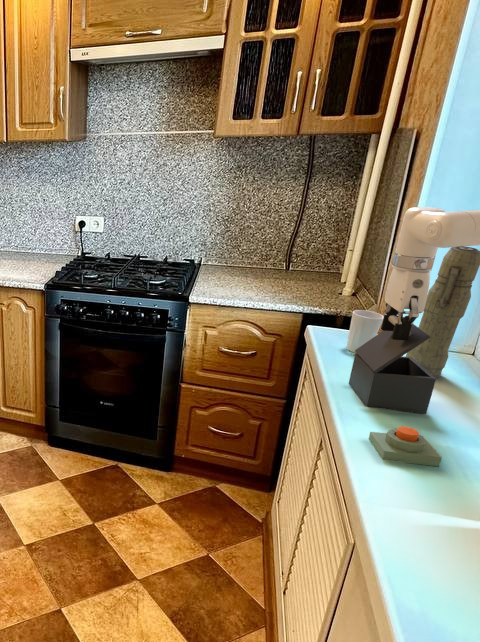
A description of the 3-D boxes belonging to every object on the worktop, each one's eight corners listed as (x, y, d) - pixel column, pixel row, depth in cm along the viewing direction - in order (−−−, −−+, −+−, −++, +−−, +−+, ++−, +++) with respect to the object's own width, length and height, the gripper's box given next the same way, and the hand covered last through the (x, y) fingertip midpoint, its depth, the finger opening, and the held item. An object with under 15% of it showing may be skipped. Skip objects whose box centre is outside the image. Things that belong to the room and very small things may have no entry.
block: (421, 445, 113) (425, 429, 112) (439, 466, 106) (444, 449, 105) (368, 440, 116) (372, 424, 114) (382, 460, 109) (386, 443, 107)
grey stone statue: (443, 368, 150) (489, 247, 136) (439, 382, 141) (488, 254, 128) (405, 359, 155) (446, 241, 142) (399, 372, 147) (442, 248, 133)
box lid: (405, 318, 132) (391, 305, 132) (430, 337, 120) (415, 322, 120) (356, 352, 138) (343, 339, 138) (376, 373, 126) (361, 359, 126)
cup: (378, 356, 159) (390, 319, 155) (352, 355, 159) (363, 318, 155) (362, 345, 167) (373, 310, 162) (336, 345, 167) (347, 309, 162)
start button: (412, 434, 111) (414, 427, 110) (420, 443, 107) (422, 436, 107) (392, 432, 112) (394, 425, 111) (399, 441, 108) (401, 434, 108)
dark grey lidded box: (402, 389, 138) (411, 356, 135) (426, 414, 126) (436, 378, 123) (348, 385, 141) (355, 353, 138) (366, 408, 129) (374, 374, 126)
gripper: (450, 271, 113) (428, 349, 119) (414, 254, 128) (396, 324, 135) (410, 270, 115) (390, 346, 121) (379, 253, 130) (363, 322, 137)
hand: (393, 334), depth 128 cm, fingers closed on box lid, 5 cm apart
